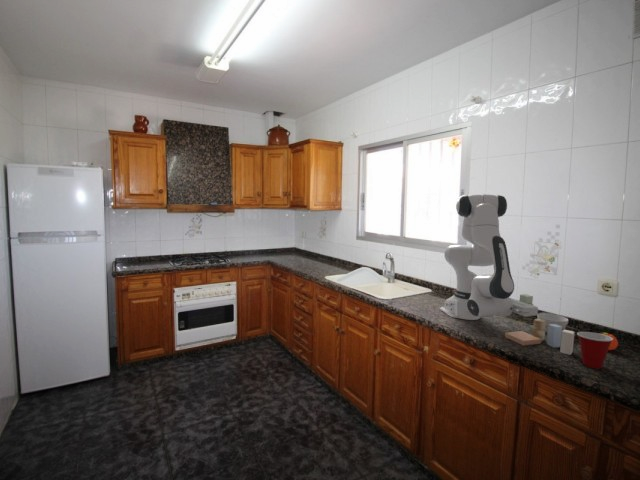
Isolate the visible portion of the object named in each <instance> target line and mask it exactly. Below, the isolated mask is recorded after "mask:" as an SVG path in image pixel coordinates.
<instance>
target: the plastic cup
mask: <svg viewBox="0 0 640 480" xmlns="http://www.w3.org/2000/svg"><path fill="white" fill-rule="evenodd" d="M576 335H577V336H578V340H579V344H580V354H581V361H582V364H583V365H584V366H586V367H588V368H592V369H597V370H599V369H602V367H603V365H604V362H605V360H606V357H607V354H608V351H609V350H608V349H609V346H610V344H611V341H612V340H613V338H612V337H610V336H607V335H603V333H601V334H599V333H598V332H590V331H578V332H576Z"/></svg>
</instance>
